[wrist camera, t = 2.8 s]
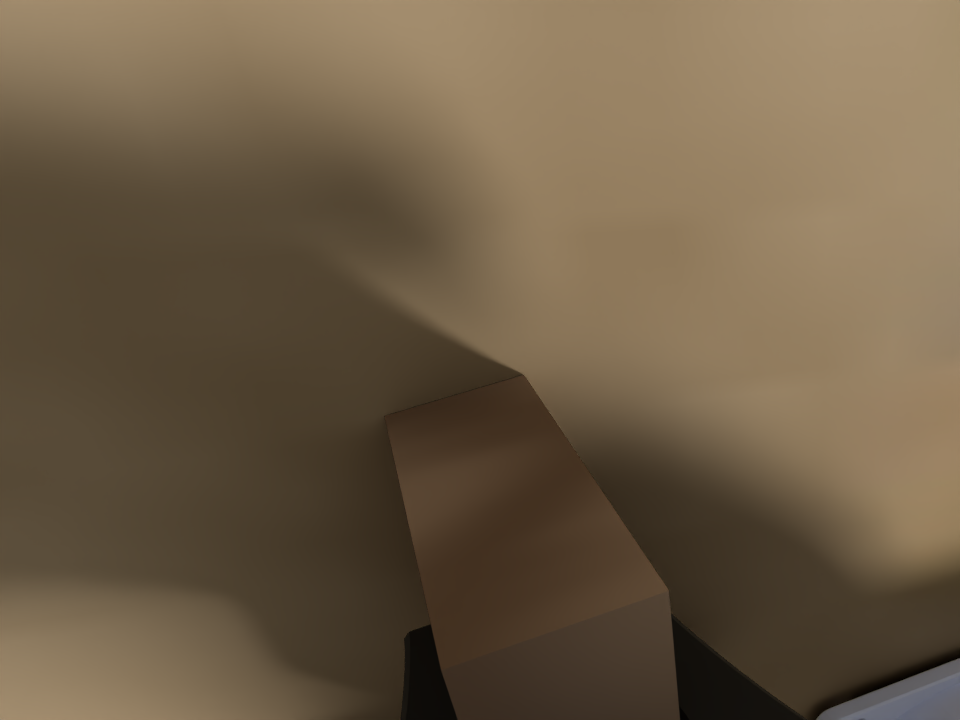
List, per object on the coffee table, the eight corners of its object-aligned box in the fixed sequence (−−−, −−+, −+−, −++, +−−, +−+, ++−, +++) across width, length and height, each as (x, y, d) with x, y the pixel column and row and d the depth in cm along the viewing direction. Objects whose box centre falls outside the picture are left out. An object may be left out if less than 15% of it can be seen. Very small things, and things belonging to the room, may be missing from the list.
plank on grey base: (677, 329, 11) (911, 505, 7) (697, 668, 16) (852, 913, 11) (211, 467, 10) (147, 772, 6) (366, 790, 15) (394, 1110, 10)
